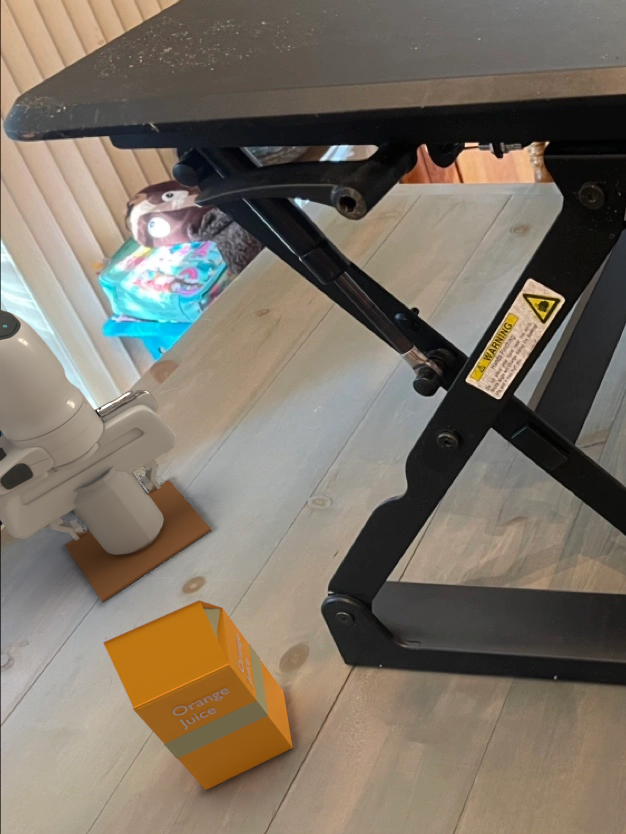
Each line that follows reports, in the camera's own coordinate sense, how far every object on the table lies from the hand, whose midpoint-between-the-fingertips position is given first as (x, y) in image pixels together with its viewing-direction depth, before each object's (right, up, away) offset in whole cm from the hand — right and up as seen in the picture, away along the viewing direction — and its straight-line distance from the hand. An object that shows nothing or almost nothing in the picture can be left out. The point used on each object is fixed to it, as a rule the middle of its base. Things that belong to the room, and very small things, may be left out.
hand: (118, 511), depth 132 cm
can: (+1, -4, +3) cm, 5 cm away
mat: (+1, -4, +3) cm, 5 cm away
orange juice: (+26, -20, -23) cm, 40 cm away
